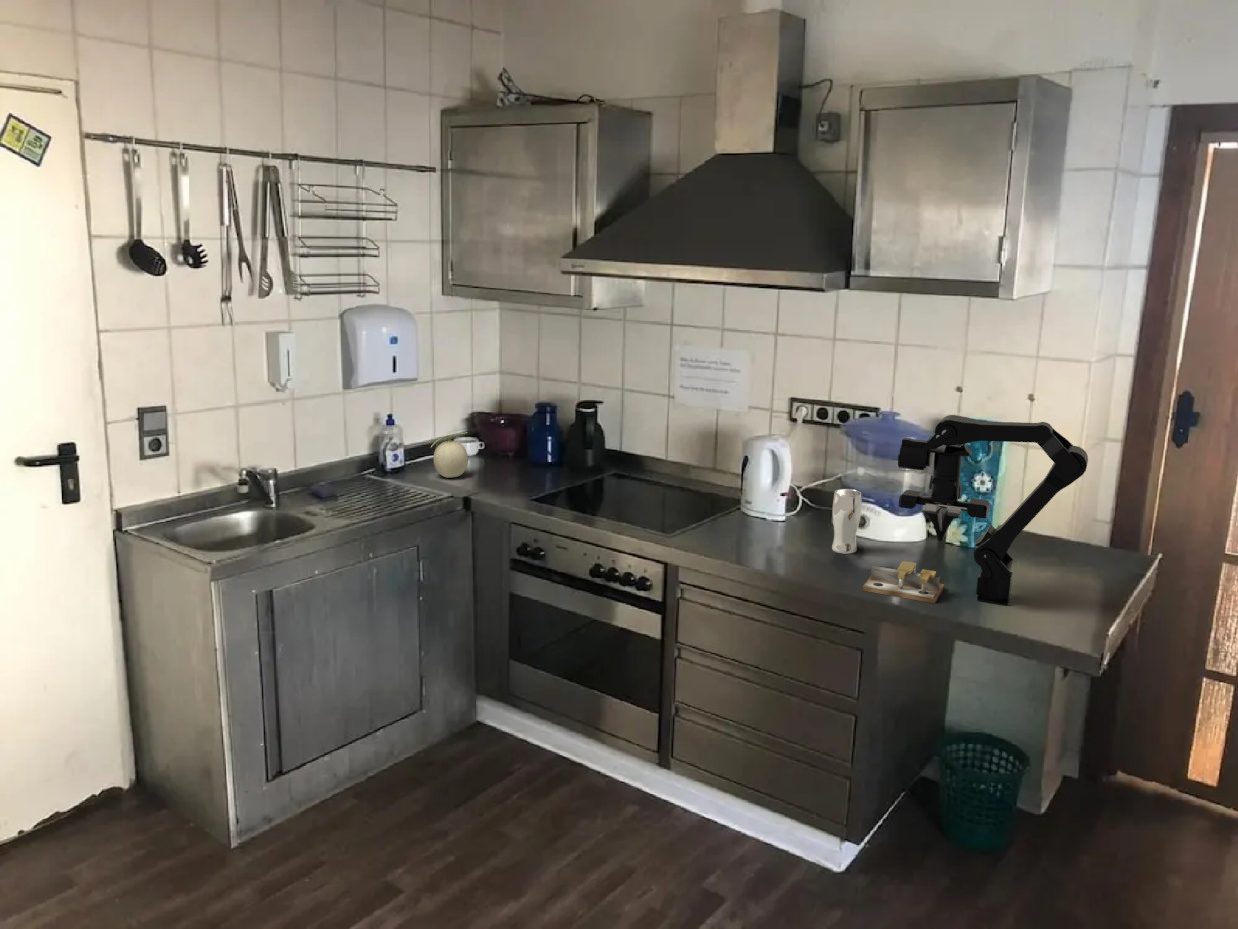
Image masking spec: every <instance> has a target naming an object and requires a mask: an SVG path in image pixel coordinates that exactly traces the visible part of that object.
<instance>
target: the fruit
mask: <svg viewBox="0 0 1238 929" xmlns="http://www.w3.org/2000/svg"><path fill="white" fill-rule="evenodd" d="M464 434H468V431H465V432H455V433H450V434H446V435H444V436H441V437H440V438H439V439H437V440H436V441H434V442H433V443H432V444H431V446H430V449H432V448H433V446H434V445H435V444H436V443H437V442H439V441H440V440H443V439H445V438H447V441H443V442H441V443H440V444H438V446H436V448H435V450H434V452H433V465H434V468H435V470H436V471H437V473H438V474H440V476H442V477H444V478H448V479H449V478H450V479H451V478H452V479H453V478H458V477H461V475H463V473H464V472H465V471H466V470H467V467H468V464H469V456H468V453H467V449H466V448H465V445H463V444H462V443H460V442H459V441H457V440H452V439H451V437H453V436H457V435H464Z"/></svg>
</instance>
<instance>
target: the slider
mask: <svg viewBox="0 0 1238 929" xmlns="http://www.w3.org/2000/svg"><path fill="white" fill-rule="evenodd" d="M896 570H897V572H899V573H898V579H899V588H903V579H905V577H906V576H907V574H911V573H912V572H913V573H917V572H916V570H917V562H912V561H906V560H905V561H904V560H902V561H901V562H900V564H899V566H898V567H897V569H896Z"/></svg>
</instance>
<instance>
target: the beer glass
mask: <svg viewBox="0 0 1238 929" xmlns="http://www.w3.org/2000/svg"><path fill="white" fill-rule="evenodd" d="M862 503H863V502H862V492H861V491H859V490H857V489H851V488H839V489H836V490H834V494H833V502H832V523H833V530H834V535H833V536H834V537H833V540H832V541H833V542H832V546H831V549H832V551H833V552H834V553H838V554H844V555H846V554H847V555H849V554H850V555H851V554H855V553H856V552H857V541H856V540H857V532H858V529H859V524H860V521H861V514H862Z"/></svg>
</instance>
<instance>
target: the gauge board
mask: <svg viewBox="0 0 1238 929" xmlns="http://www.w3.org/2000/svg"><path fill="white" fill-rule="evenodd" d="M898 573H899V572H897V569H894V568H889V567H888V568H887V567H883V566H876V565H872V566H871V568H870V576H869V578H868V579H867V580H866V581H865V583H864V584H863V585H862V590H861V591H865V592H870V593H873V594H874V593H876V594H882V595H886V596H891V597H897V598H904V599H909V600H914V601H919V602H924V603H932V604H936V603H937V601H938V599H939V598H940V596H941V594H942V592H943V591H944V588H945V584H944V583H941V580H940V579H941V576H937V571H935V570H929V569H924V568H923V569H921V571H920V573H919V572H915V573H913V572H912V573H911V574H907V576H906V577H905V579H903V588H899V579H898Z"/></svg>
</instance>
